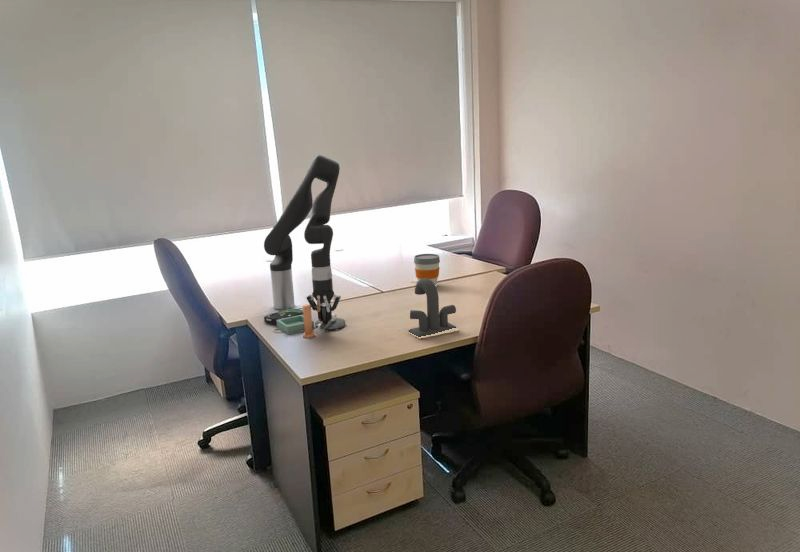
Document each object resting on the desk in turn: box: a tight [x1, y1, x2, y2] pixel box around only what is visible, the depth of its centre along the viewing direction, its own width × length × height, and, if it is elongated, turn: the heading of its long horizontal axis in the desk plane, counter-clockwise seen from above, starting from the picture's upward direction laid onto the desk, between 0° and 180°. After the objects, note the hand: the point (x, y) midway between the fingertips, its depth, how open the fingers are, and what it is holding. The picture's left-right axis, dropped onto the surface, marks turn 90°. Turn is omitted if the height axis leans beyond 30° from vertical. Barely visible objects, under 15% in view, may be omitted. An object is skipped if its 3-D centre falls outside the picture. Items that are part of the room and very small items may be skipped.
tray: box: [276, 315, 315, 335], centre depth 230 cm, size 11×11×3 cm
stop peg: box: [302, 304, 316, 339], centre depth 219 cm, size 4×4×12 cm
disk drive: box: [263, 308, 303, 326], centre depth 240 cm, size 10×3×15 cm
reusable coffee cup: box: [413, 253, 441, 285], centre depth 283 cm, size 12×13×15 cm
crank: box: [314, 304, 337, 335], centre depth 225 cm, size 20×5×8 cm, turn 170°
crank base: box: [314, 317, 347, 332], centre depth 231 cm, size 12×12×2 cm
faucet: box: [407, 278, 457, 337], centre depth 220 cm, size 18×16×20 cm
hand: (325, 320), depth 224 cm, fingers closed on crank, 2 cm apart
